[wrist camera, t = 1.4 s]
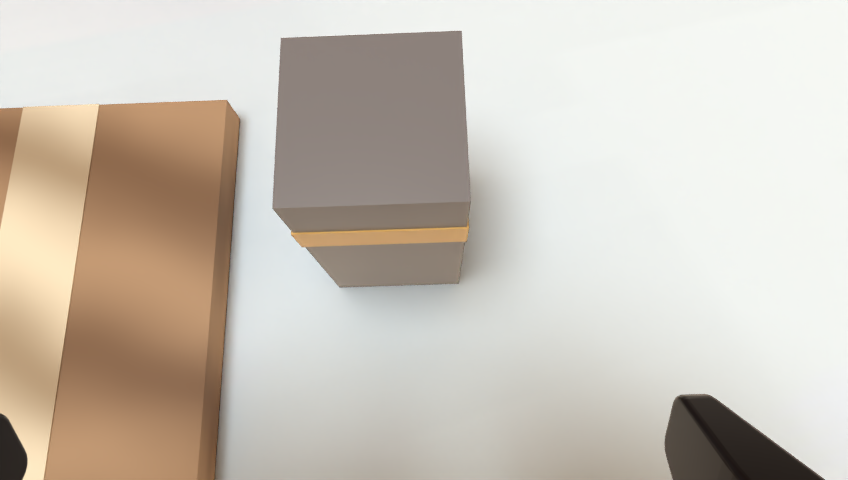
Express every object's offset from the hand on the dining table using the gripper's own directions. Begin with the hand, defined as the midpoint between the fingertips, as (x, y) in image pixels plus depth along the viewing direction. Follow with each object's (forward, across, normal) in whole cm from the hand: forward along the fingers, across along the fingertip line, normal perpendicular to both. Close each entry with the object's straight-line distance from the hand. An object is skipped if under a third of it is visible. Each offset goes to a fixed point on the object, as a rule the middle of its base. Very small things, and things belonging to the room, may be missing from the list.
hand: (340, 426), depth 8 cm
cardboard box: (+10, +13, +8) cm, 18 cm away
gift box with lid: (+14, 0, +4) cm, 15 cm away
